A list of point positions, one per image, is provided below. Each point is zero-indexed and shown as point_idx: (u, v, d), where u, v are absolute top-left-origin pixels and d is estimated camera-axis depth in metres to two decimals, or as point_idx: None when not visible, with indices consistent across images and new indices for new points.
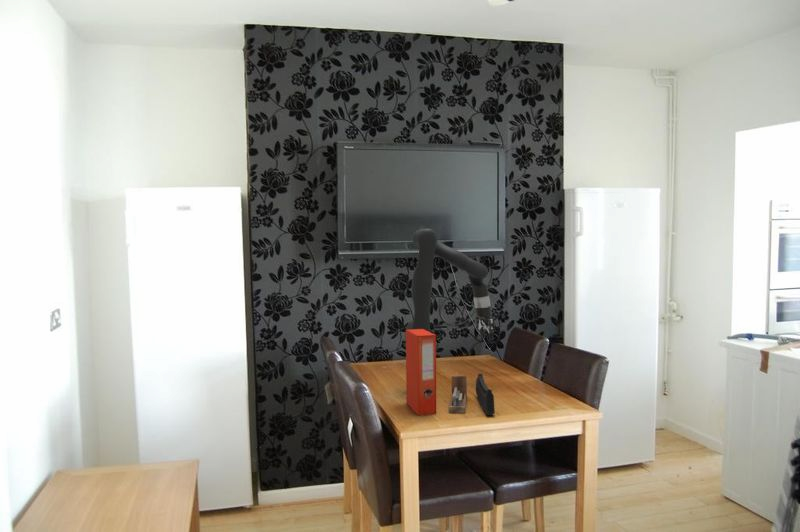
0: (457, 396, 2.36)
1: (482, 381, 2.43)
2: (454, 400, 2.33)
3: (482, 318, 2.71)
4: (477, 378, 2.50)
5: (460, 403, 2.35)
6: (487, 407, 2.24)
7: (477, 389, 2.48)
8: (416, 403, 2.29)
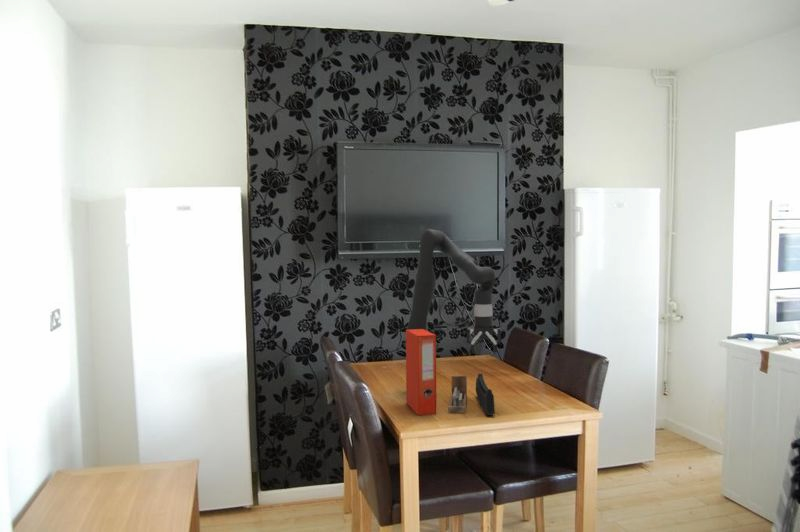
0: (457, 396, 2.36)
1: (482, 381, 2.43)
2: (454, 400, 2.33)
3: None
4: (477, 378, 2.50)
5: (460, 403, 2.35)
6: (487, 407, 2.24)
7: (477, 389, 2.48)
8: (416, 403, 2.29)
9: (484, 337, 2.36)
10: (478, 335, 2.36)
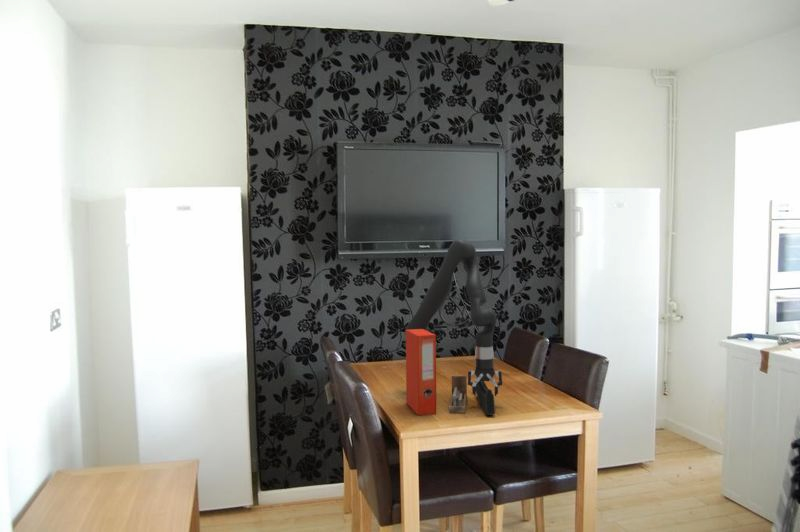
0: (457, 396, 2.36)
1: (482, 381, 2.43)
2: (454, 400, 2.33)
3: None
4: None
5: (460, 403, 2.35)
6: (487, 407, 2.24)
7: (477, 389, 2.48)
8: (416, 403, 2.29)
9: (485, 379, 2.37)
10: (479, 377, 2.37)
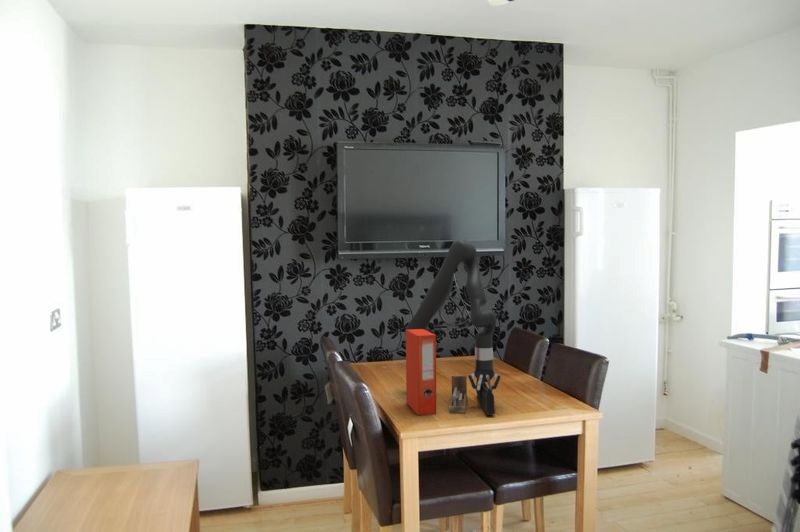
0: (457, 396, 2.36)
1: None
2: (454, 400, 2.33)
3: None
4: None
5: (460, 403, 2.35)
6: (487, 407, 2.24)
7: None
8: (416, 403, 2.29)
9: (485, 380, 2.37)
10: (480, 379, 2.37)
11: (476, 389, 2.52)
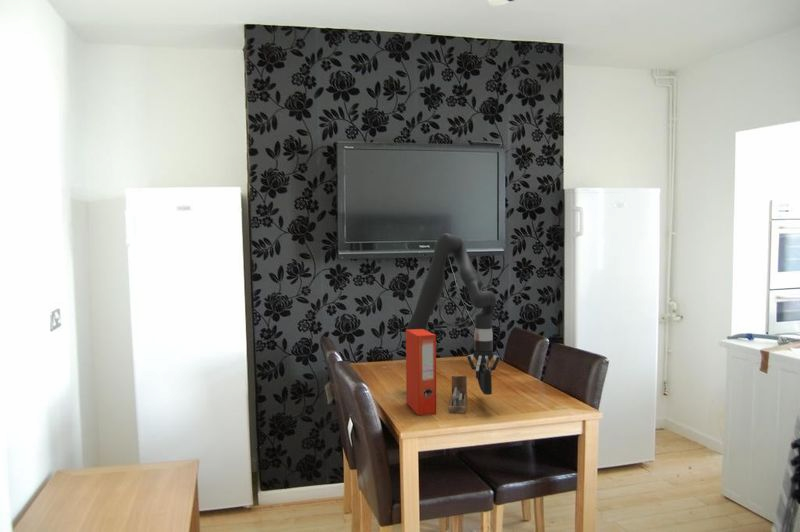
0: (457, 396, 2.36)
1: None
2: (454, 400, 2.33)
3: None
4: None
5: (460, 403, 2.35)
6: (484, 387, 2.23)
7: None
8: (416, 403, 2.29)
9: (484, 361, 2.37)
10: (479, 360, 2.36)
11: None
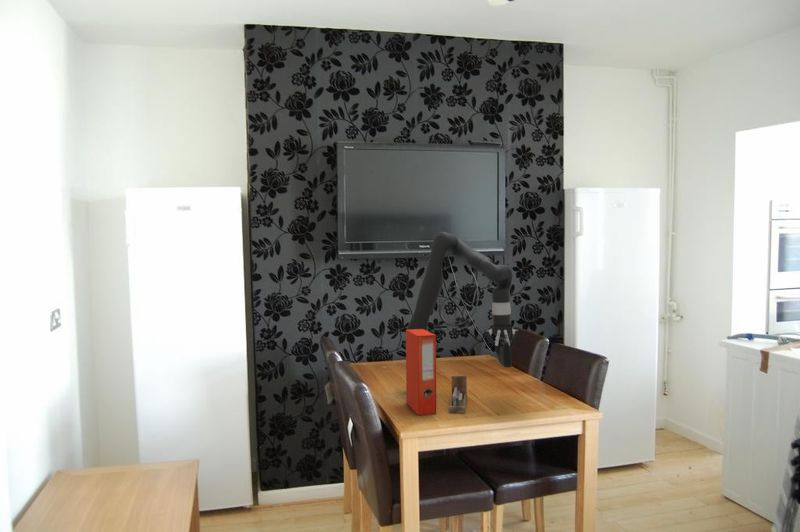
0: (457, 396, 2.36)
1: None
2: (454, 400, 2.33)
3: None
4: None
5: (460, 403, 2.35)
6: (504, 360, 2.22)
7: None
8: (416, 403, 2.29)
9: (503, 335, 2.35)
10: (498, 334, 2.35)
11: None
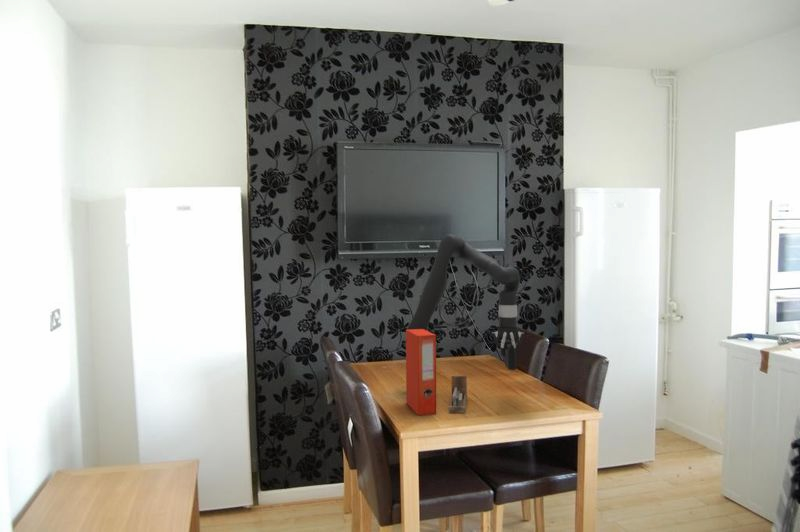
0: (457, 396, 2.36)
1: (506, 340, 2.40)
2: (454, 400, 2.33)
3: None
4: None
5: (460, 403, 2.35)
6: (509, 363, 2.21)
7: None
8: (416, 403, 2.29)
9: (508, 338, 2.35)
10: (504, 337, 2.34)
11: None
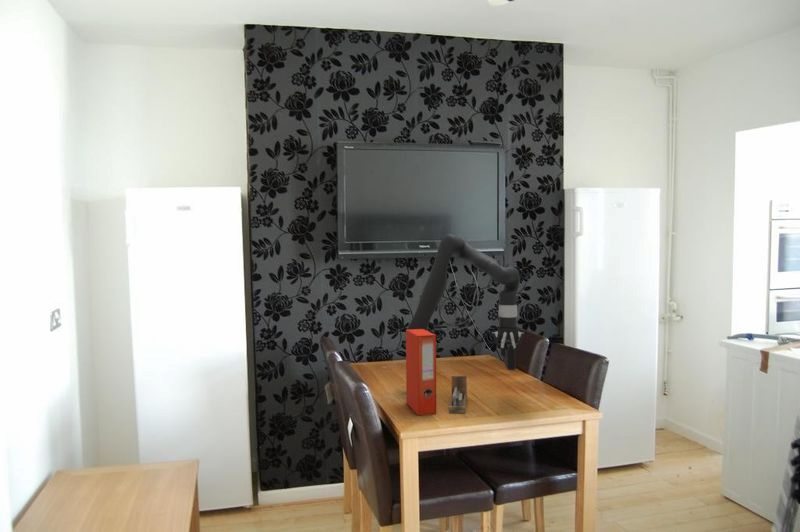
0: (457, 396, 2.36)
1: (507, 340, 2.40)
2: (454, 400, 2.33)
3: None
4: None
5: (460, 403, 2.35)
6: (508, 363, 2.22)
7: None
8: (416, 403, 2.29)
9: (508, 338, 2.35)
10: (504, 337, 2.34)
11: None
